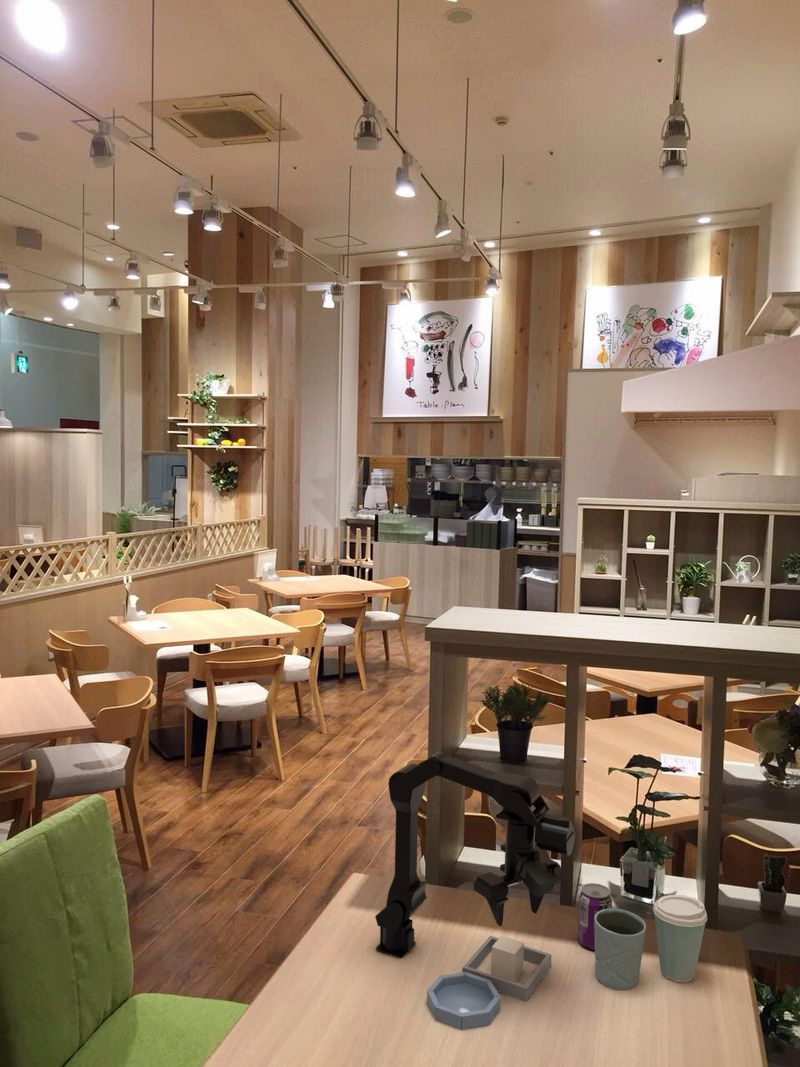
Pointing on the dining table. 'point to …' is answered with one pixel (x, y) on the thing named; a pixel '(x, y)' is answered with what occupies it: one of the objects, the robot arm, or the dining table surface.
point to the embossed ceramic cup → (618, 948)
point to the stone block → (507, 958)
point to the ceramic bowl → (463, 1000)
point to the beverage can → (591, 911)
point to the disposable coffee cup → (679, 935)
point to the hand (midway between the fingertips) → (517, 918)
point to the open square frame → (506, 985)
